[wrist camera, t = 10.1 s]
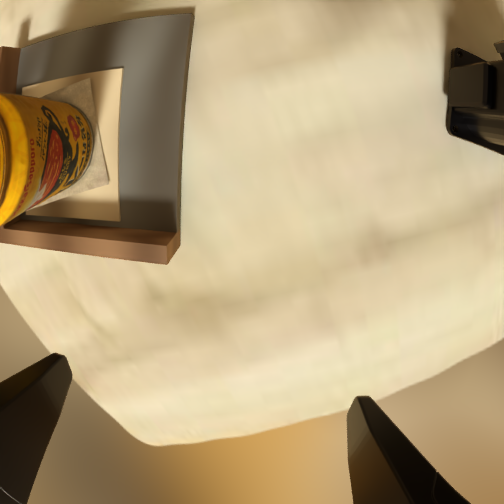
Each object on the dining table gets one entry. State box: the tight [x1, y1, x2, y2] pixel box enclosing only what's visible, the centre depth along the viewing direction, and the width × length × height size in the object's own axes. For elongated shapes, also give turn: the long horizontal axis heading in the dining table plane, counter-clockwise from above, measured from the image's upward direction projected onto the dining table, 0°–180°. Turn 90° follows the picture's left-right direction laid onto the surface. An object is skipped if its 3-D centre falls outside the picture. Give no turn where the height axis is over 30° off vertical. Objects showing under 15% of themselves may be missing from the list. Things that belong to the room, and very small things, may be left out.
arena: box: [0, 13, 194, 265], centre depth 16 cm, size 15×15×3 cm
